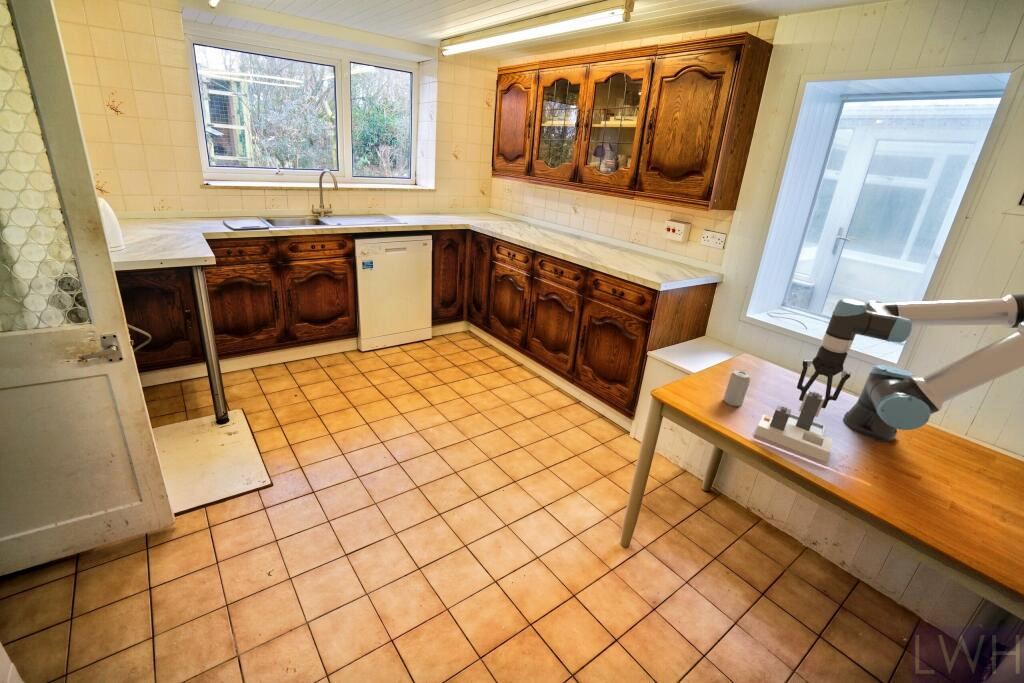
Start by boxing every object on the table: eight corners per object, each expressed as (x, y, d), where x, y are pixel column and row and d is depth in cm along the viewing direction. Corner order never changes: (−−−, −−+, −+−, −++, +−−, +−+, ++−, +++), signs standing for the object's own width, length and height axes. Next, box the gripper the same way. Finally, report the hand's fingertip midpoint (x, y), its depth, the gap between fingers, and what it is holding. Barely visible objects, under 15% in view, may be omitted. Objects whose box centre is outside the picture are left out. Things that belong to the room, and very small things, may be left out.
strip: (828, 450, 149) (841, 420, 144) (825, 463, 142) (838, 432, 138) (759, 424, 159) (770, 396, 155) (754, 435, 152) (764, 406, 148)
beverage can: (743, 402, 173) (752, 373, 168) (740, 409, 167) (750, 379, 163) (724, 396, 175) (733, 367, 171) (721, 403, 170) (730, 373, 166)
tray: (823, 429, 160) (825, 425, 160) (820, 441, 153) (822, 438, 152) (784, 415, 167) (786, 411, 166) (780, 426, 159) (781, 423, 159)
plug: (810, 426, 160) (823, 393, 155) (808, 431, 157) (822, 397, 152) (796, 421, 162) (810, 388, 157) (795, 426, 159) (808, 392, 154)
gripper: (867, 353, 147) (839, 418, 156) (805, 336, 155) (782, 398, 165) (866, 360, 141) (837, 427, 150) (802, 342, 150) (778, 406, 159)
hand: (808, 412), depth 157 cm, fingers closed on plug, 4 cm apart
